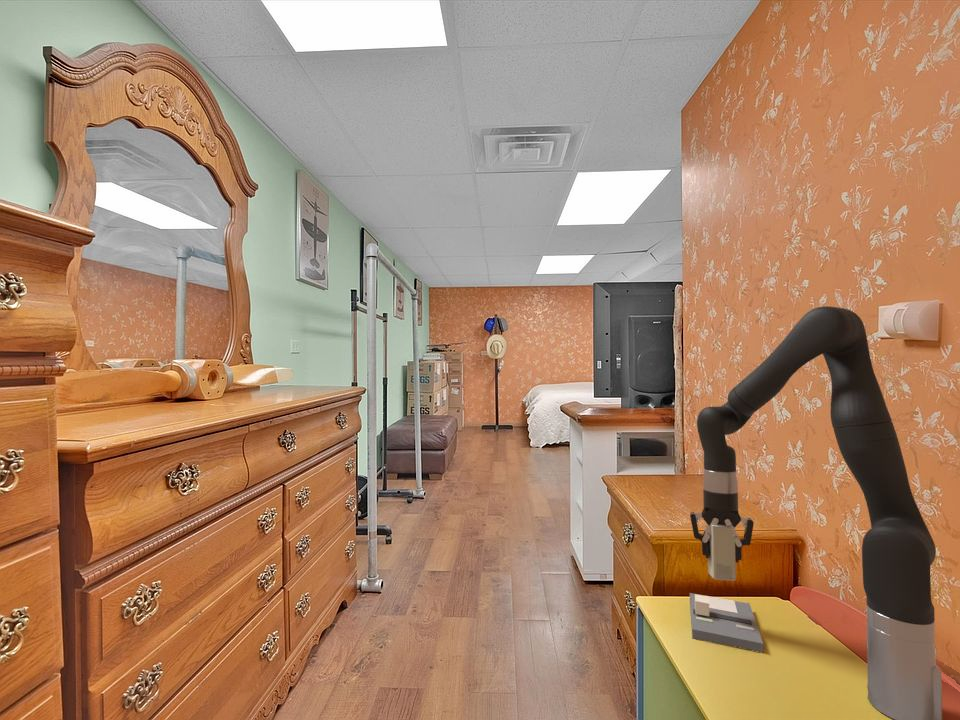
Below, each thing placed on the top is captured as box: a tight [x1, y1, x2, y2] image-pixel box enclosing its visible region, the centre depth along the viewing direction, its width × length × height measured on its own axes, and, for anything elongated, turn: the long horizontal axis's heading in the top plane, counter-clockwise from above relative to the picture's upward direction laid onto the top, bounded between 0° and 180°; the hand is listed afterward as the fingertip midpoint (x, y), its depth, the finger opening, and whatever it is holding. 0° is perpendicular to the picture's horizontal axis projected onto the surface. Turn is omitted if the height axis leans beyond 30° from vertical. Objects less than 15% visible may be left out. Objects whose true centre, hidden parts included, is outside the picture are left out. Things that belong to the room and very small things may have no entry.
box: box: [706, 523, 737, 582], centre depth 113 cm, size 5×4×13 cm
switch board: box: [689, 592, 764, 654], centre depth 113 cm, size 14×20×2 cm
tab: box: [694, 593, 709, 616], centre depth 114 cm, size 3×4×3 cm
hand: (721, 559), depth 113 cm, fingers closed on box, 5 cm apart
